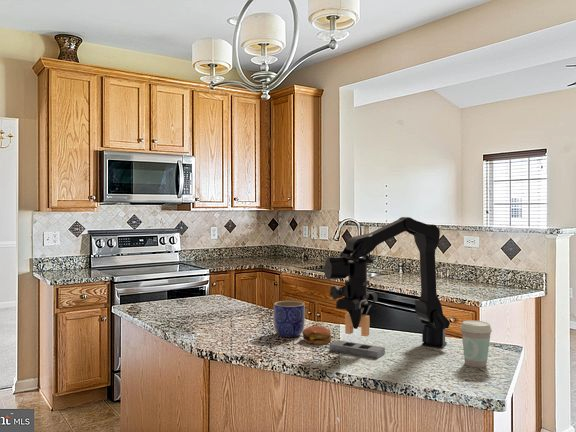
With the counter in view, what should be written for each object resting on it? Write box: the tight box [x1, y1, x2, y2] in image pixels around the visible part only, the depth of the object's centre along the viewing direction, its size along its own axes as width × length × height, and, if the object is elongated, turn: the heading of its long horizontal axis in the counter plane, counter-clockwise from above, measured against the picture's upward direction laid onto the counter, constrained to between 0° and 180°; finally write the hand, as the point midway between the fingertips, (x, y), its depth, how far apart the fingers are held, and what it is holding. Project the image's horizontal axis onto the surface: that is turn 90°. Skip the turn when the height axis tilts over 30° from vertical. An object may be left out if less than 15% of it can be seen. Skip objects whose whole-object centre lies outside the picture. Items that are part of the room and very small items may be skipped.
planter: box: [273, 300, 306, 338], centre depth 180 cm, size 11×11×11 cm
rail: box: [329, 339, 386, 359], centre depth 159 cm, size 16×6×2 cm, turn 58°
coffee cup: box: [459, 319, 493, 368], centre depth 147 cm, size 9×9×12 cm
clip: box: [344, 312, 371, 337], centre depth 159 cm, size 7×2×6 cm, turn 59°
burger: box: [302, 325, 333, 346], centre depth 173 cm, size 10×9×5 cm
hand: (357, 327), depth 159 cm, fingers closed on clip, 2 cm apart
